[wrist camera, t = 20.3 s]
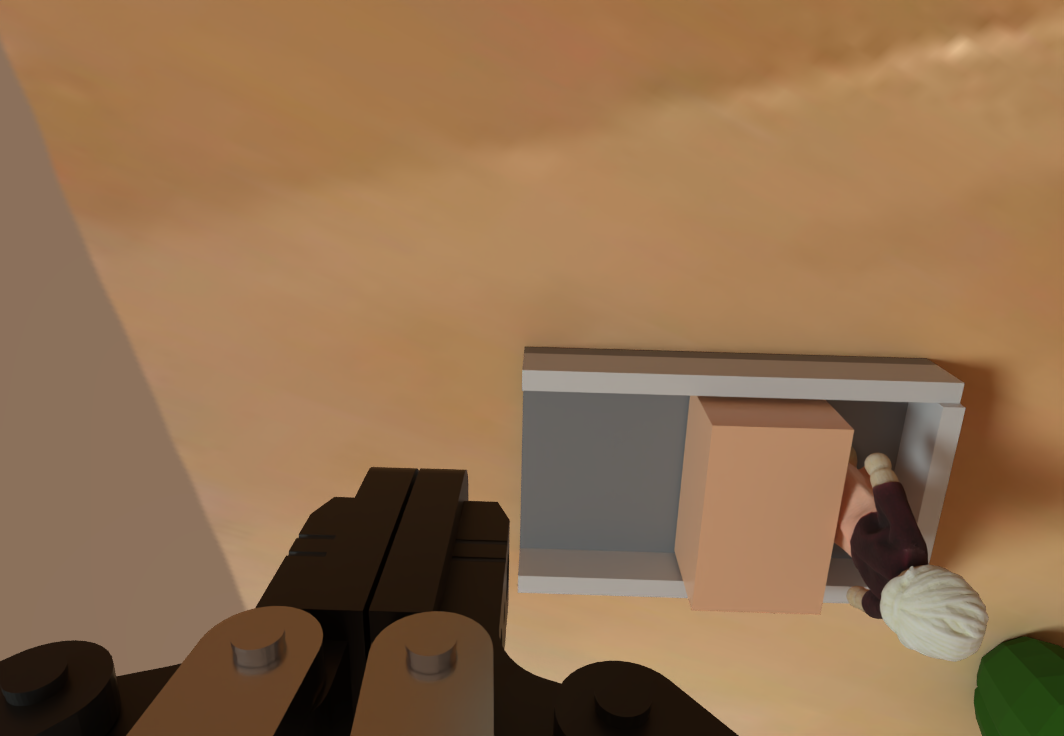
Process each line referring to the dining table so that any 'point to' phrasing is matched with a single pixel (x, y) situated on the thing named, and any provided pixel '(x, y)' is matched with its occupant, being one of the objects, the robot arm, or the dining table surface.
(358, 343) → the dining table surface
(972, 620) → the grandmother figurine
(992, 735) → the bell pepper
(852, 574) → the tray
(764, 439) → the block
